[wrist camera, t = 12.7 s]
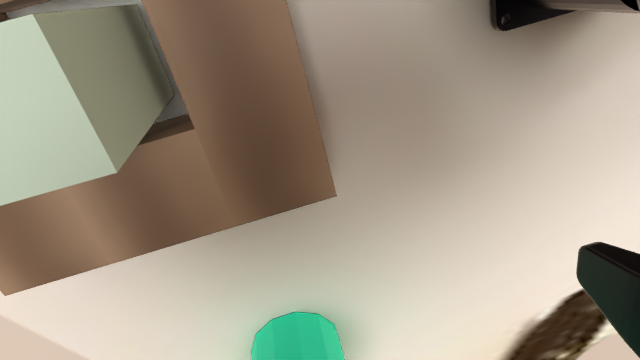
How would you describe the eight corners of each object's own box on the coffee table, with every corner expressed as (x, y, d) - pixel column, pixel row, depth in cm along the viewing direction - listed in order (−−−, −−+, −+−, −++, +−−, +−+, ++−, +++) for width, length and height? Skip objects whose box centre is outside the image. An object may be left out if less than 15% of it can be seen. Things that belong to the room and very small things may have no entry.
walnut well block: (222, -216, 14) (216, -265, 11) (325, 170, 21) (336, 195, 19) (-227, -101, 13) (-344, -125, 11) (36, 257, 21) (5, 295, 18)
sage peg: (136, 4, 17) (32, 14, 9) (174, 94, 18) (117, 172, 10) (43, 28, 16) (-152, 62, 8) (90, 118, 18) (-34, 215, 10)
